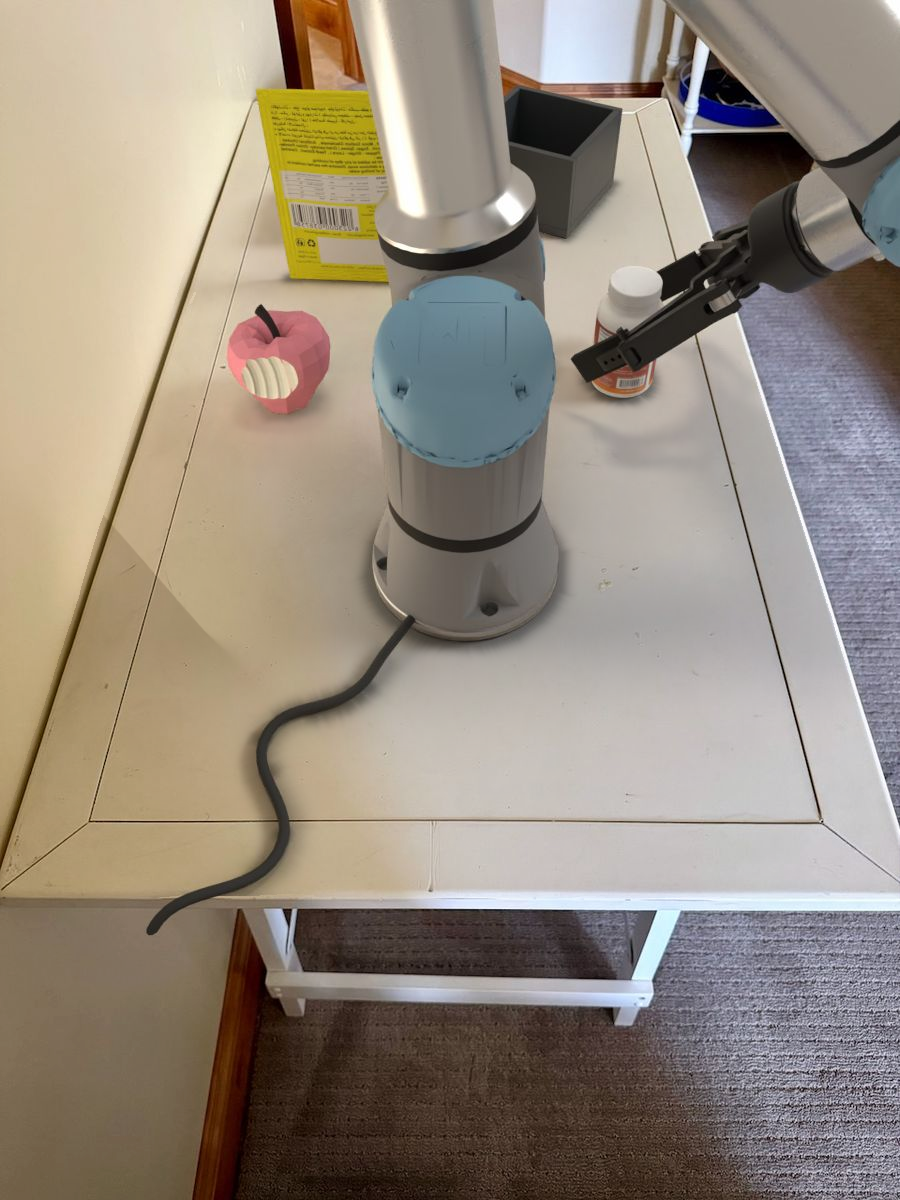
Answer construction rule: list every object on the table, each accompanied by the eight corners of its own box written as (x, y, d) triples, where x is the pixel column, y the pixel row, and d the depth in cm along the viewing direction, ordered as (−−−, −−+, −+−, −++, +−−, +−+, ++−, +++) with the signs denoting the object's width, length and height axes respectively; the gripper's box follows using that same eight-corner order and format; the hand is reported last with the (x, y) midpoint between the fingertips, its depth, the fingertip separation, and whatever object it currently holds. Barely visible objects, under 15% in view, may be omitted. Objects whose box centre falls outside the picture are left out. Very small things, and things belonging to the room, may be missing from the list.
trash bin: (566, 238, 104) (573, 161, 96) (463, 209, 108) (462, 133, 101) (613, 184, 111) (622, 108, 103) (514, 158, 115) (517, 84, 108)
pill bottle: (614, 351, 91) (629, 251, 82) (664, 377, 88) (685, 277, 80) (575, 381, 88) (587, 282, 80) (626, 409, 86) (644, 309, 77)
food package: (427, 281, 99) (418, 90, 83) (426, 287, 98) (417, 95, 82) (291, 275, 100) (256, 86, 84) (289, 281, 100) (254, 91, 84)
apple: (229, 427, 85) (204, 340, 77) (254, 369, 90) (233, 281, 82) (328, 436, 84) (312, 348, 76) (347, 376, 90) (335, 288, 82)
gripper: (782, 356, 62) (573, 438, 80) (893, 194, 75) (691, 295, 92) (727, 265, 60) (524, 369, 77) (851, 113, 72) (652, 232, 90)
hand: (615, 329), depth 85 cm, fingers open, 13 cm apart
